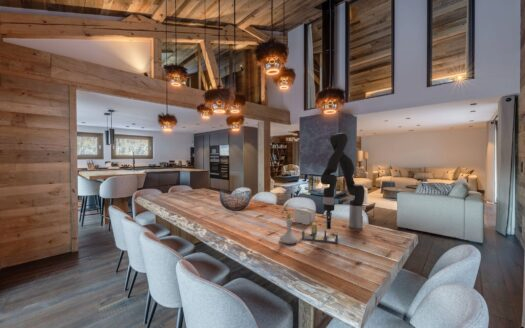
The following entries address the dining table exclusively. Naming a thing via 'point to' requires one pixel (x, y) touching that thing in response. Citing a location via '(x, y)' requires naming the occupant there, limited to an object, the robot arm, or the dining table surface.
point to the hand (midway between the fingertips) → (328, 227)
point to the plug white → (326, 225)
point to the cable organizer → (304, 215)
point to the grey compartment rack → (319, 238)
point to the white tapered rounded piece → (288, 231)
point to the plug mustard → (314, 228)
